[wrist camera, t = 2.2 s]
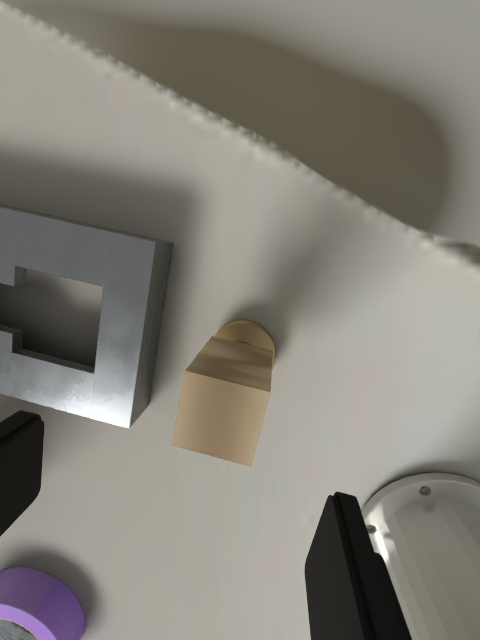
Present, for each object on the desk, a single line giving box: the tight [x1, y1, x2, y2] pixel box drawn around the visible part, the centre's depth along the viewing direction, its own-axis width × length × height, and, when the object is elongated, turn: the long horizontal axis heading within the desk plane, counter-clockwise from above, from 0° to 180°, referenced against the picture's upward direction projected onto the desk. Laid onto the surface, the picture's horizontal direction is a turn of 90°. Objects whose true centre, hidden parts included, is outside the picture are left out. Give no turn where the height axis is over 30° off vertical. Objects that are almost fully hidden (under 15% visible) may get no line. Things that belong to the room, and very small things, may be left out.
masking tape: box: [0, 567, 85, 640], centre depth 33 cm, size 12×12×4 cm
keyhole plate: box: [0, 205, 173, 428], centre depth 24 cm, size 18×14×4 cm
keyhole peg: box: [172, 320, 275, 467], centre depth 20 cm, size 5×5×10 cm
